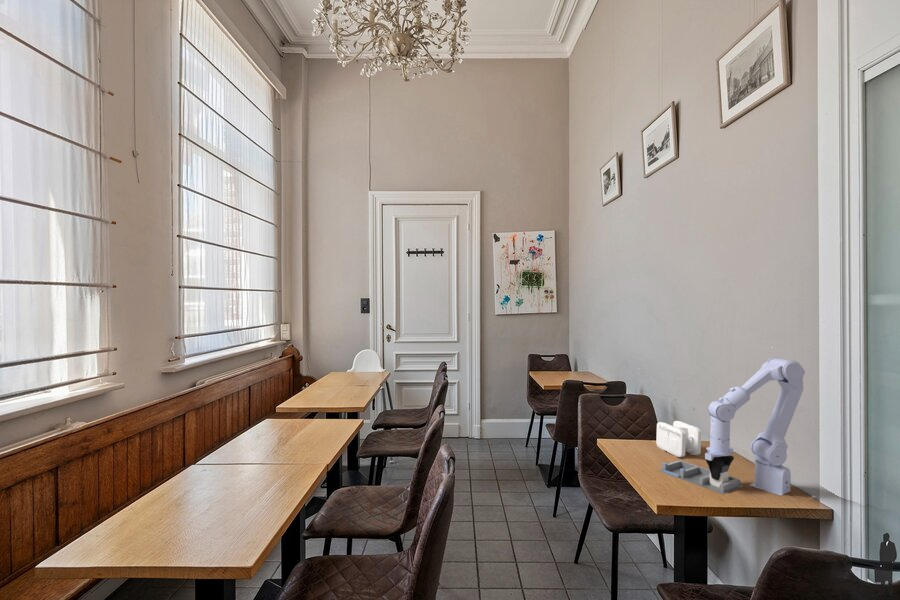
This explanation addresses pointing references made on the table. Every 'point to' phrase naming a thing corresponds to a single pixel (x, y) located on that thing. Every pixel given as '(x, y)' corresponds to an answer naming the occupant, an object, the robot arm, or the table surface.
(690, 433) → the cable organizer
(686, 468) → the parts fixture tray
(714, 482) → the white upright block
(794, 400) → the robot arm
